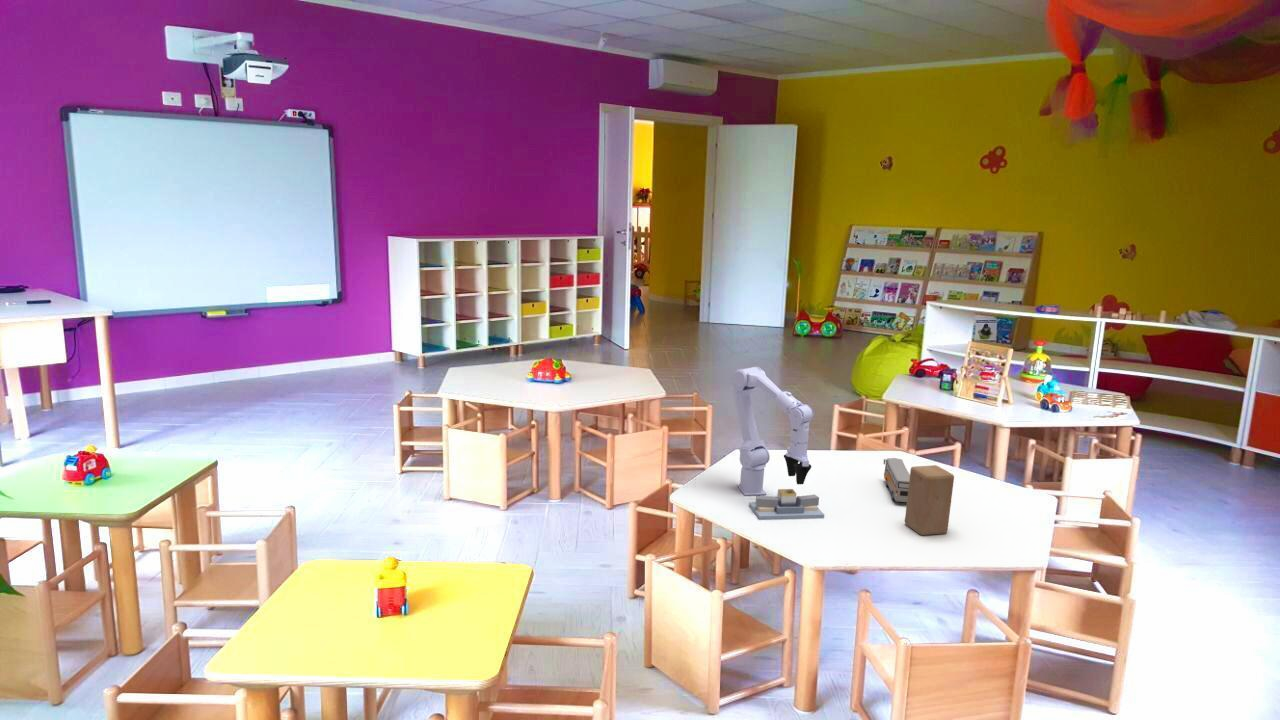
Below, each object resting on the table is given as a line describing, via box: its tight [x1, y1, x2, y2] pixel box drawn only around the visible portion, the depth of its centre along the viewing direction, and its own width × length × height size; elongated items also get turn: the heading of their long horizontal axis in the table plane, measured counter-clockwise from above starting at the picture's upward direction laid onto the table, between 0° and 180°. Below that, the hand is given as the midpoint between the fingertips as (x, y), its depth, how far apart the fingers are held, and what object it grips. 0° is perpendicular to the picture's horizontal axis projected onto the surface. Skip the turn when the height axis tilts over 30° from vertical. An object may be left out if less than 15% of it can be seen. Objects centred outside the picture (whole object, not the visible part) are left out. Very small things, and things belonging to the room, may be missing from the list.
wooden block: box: [904, 464, 955, 536], centre depth 270 cm, size 10×10×20 cm
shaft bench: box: [748, 494, 825, 521], centre depth 281 cm, size 12×22×5 cm, turn 99°
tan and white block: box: [776, 488, 797, 507], centre depth 280 cm, size 5×4×6 cm
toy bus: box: [883, 457, 910, 503], centre depth 302 cm, size 7×26×10 cm, turn 173°
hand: (795, 479), depth 283 cm, fingers open, 7 cm apart
